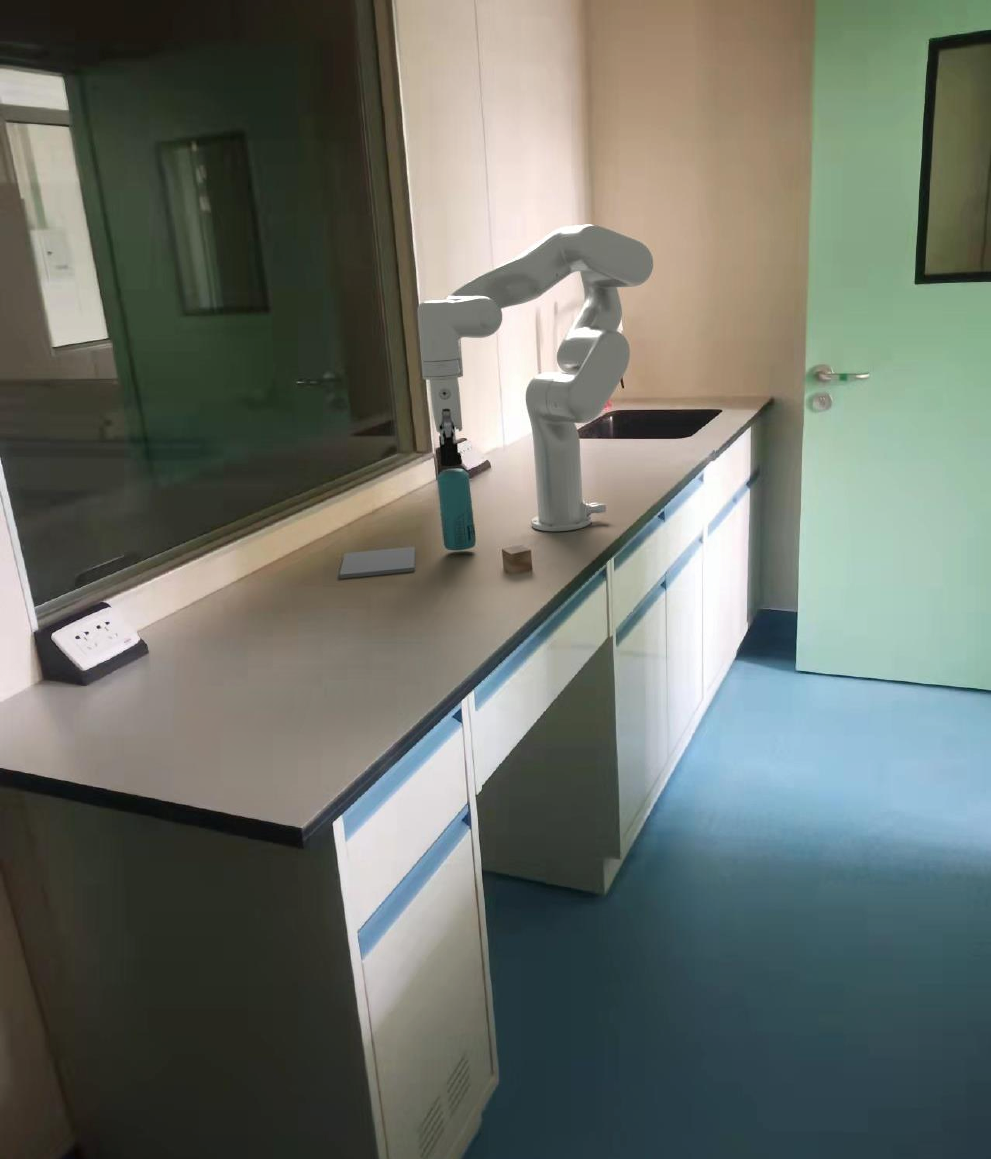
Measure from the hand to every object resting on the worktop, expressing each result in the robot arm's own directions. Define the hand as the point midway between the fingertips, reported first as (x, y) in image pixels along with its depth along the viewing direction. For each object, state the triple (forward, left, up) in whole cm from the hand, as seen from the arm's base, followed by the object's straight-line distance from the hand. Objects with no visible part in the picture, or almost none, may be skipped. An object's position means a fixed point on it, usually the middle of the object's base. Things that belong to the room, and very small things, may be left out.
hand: (449, 460), depth 188 cm
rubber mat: (+16, +2, -19) cm, 24 cm away
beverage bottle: (0, 0, -19) cm, 19 cm away
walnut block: (-10, +14, -19) cm, 25 cm away
